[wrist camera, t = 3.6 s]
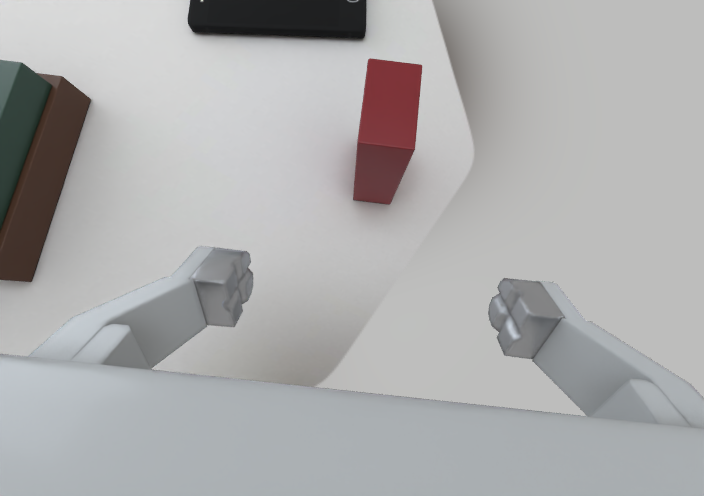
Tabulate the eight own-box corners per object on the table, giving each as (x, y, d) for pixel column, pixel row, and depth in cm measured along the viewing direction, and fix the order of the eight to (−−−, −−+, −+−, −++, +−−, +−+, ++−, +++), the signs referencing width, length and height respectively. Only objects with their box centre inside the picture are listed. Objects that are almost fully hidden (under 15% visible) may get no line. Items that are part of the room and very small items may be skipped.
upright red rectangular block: (390, 204, 27) (415, 149, 18) (352, 200, 27) (357, 142, 18) (396, 145, 29) (422, 62, 19) (360, 141, 29) (368, 56, 19)
